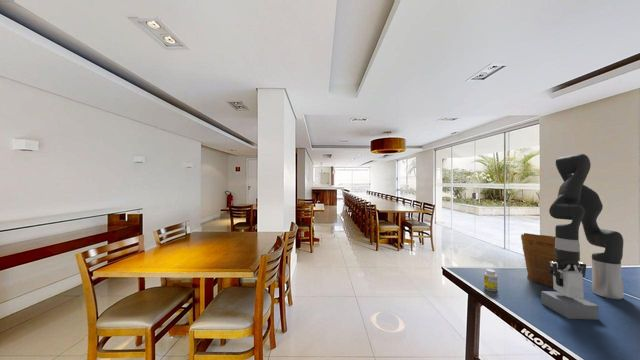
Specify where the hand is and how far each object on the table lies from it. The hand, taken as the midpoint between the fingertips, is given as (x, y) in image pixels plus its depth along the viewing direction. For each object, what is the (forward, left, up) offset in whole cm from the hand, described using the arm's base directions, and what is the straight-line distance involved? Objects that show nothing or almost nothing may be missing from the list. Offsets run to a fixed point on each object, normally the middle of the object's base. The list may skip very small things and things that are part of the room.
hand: (567, 285), depth 100 cm
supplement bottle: (+20, -19, -11) cm, 30 cm away
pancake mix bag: (-15, -27, -11) cm, 33 cm away
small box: (0, 0, -4) cm, 4 cm away
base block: (0, 0, -11) cm, 11 cm away
